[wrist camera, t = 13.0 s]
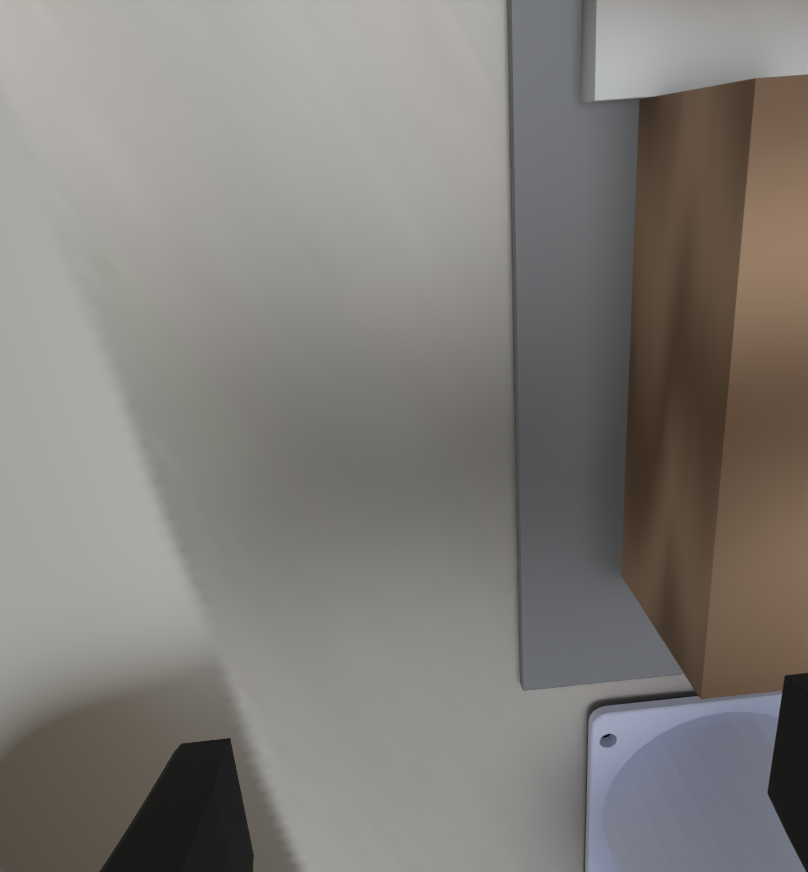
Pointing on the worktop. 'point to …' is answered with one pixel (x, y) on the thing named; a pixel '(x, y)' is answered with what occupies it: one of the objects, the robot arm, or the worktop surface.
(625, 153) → the mat
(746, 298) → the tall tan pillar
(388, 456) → the worktop surface
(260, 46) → the worktop surface
